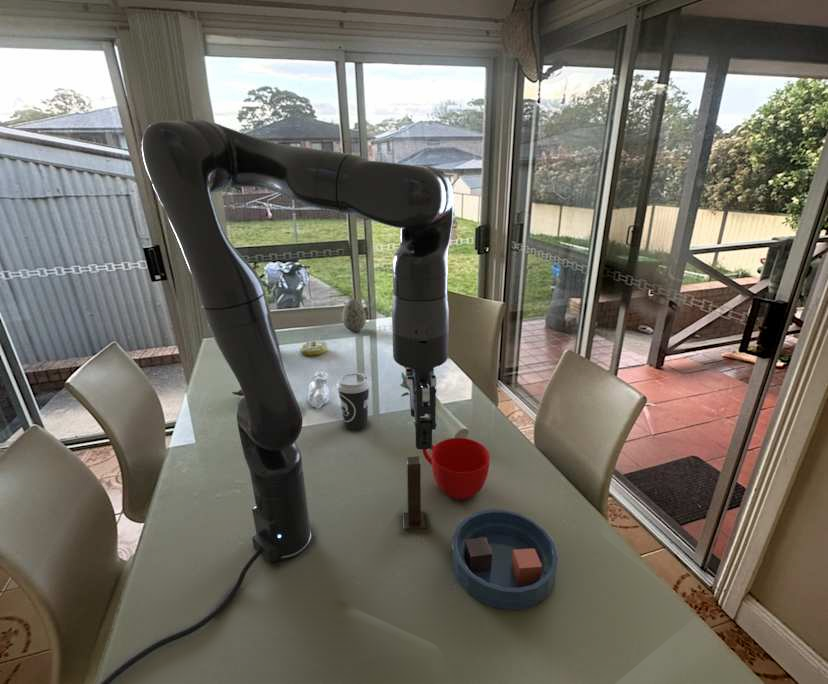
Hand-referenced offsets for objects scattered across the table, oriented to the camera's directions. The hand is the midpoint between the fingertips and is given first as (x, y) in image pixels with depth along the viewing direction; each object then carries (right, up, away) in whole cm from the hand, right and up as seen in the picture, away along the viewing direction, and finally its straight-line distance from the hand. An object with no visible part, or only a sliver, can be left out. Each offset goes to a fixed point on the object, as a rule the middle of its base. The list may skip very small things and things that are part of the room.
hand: (420, 430), depth 65 cm
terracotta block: (+19, -29, +15) cm, 38 cm away
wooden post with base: (-1, -25, +27) cm, 37 cm away
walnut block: (+11, -28, +17) cm, 34 cm away
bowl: (+15, -29, +17) cm, 37 cm away
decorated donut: (-42, +9, +115) cm, 122 cm away
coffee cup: (-18, -11, +63) cm, 66 cm away
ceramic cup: (+8, -21, +38) cm, 44 cm away
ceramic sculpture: (-51, -6, +78) cm, 94 cm away
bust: (-31, -6, +76) cm, 82 cm away
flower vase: (+4, -9, +68) cm, 69 cm away
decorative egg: (-28, +18, +138) cm, 142 cm away
